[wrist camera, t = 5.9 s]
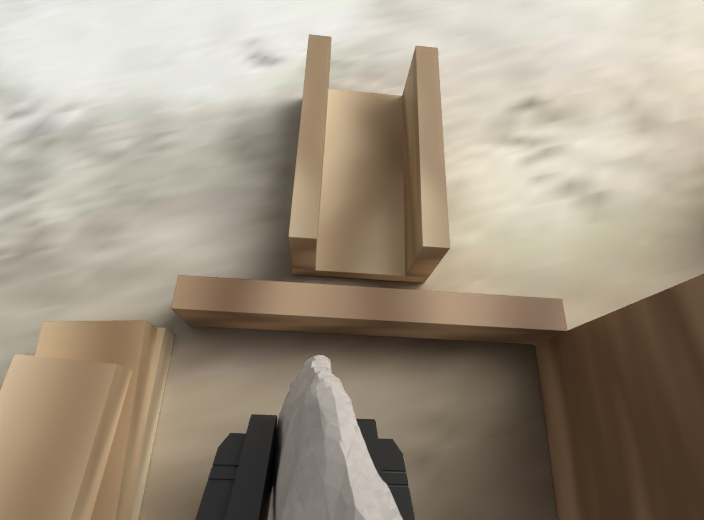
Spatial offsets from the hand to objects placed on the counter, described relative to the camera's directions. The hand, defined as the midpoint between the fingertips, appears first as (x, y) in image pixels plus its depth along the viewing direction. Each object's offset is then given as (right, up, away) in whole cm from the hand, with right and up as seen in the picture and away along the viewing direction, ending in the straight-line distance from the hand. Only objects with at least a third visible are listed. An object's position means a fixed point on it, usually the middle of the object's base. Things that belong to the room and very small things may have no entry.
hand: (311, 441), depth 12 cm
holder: (+2, +10, +12) cm, 16 cm away
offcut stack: (-10, -3, +6) cm, 12 cm away
